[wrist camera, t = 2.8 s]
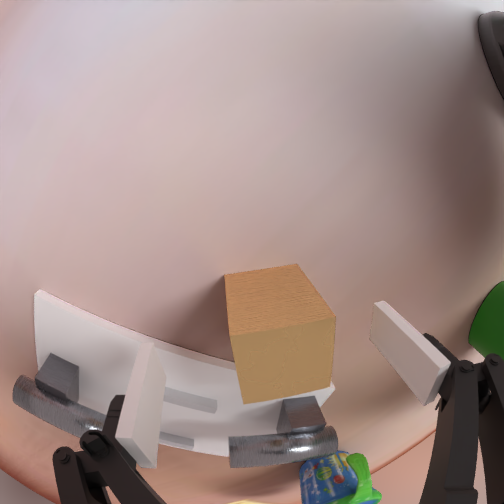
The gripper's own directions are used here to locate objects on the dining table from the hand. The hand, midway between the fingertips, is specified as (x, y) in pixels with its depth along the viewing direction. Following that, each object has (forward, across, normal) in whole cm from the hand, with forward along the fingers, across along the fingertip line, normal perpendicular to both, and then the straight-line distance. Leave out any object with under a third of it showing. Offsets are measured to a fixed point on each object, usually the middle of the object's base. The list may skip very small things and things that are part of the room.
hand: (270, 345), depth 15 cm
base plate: (+5, -9, -9) cm, 14 cm away
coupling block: (+5, 0, 0) cm, 5 cm away
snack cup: (+5, +7, -29) cm, 30 cm away
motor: (+4, +31, -9) cm, 33 cm away
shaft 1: (+5, -17, -6) cm, 18 cm away
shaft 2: (+5, 0, -12) cm, 13 cm away
